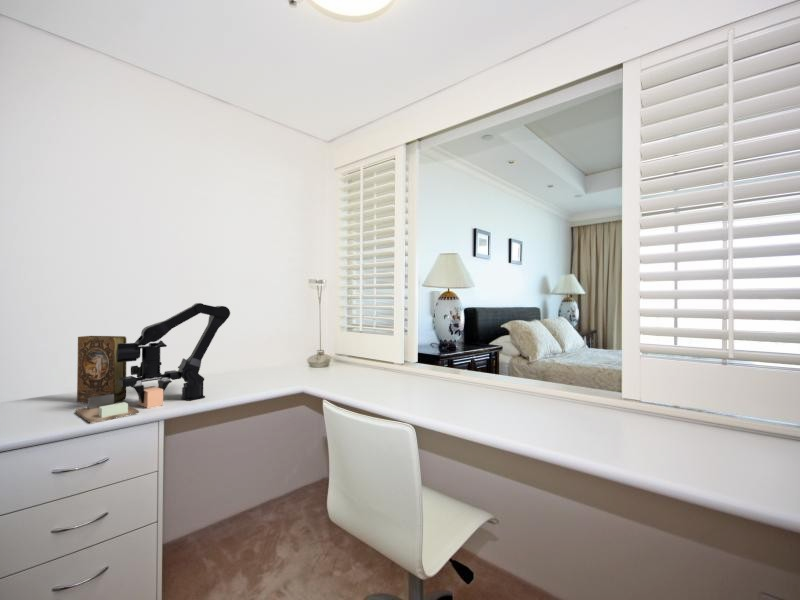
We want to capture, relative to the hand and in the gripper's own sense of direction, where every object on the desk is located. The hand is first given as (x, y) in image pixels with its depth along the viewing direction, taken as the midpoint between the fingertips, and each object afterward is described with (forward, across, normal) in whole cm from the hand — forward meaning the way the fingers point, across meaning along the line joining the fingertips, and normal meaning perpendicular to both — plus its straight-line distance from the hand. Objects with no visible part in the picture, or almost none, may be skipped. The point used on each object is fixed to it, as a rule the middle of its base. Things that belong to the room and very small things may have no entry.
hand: (150, 401), depth 134 cm
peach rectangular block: (+1, 0, 0) cm, 1 cm away
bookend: (0, +13, -7) cm, 15 cm away
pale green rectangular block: (+1, +13, +7) cm, 15 cm away
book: (+2, +10, -20) cm, 23 cm away
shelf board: (+1, +13, 0) cm, 13 cm away
